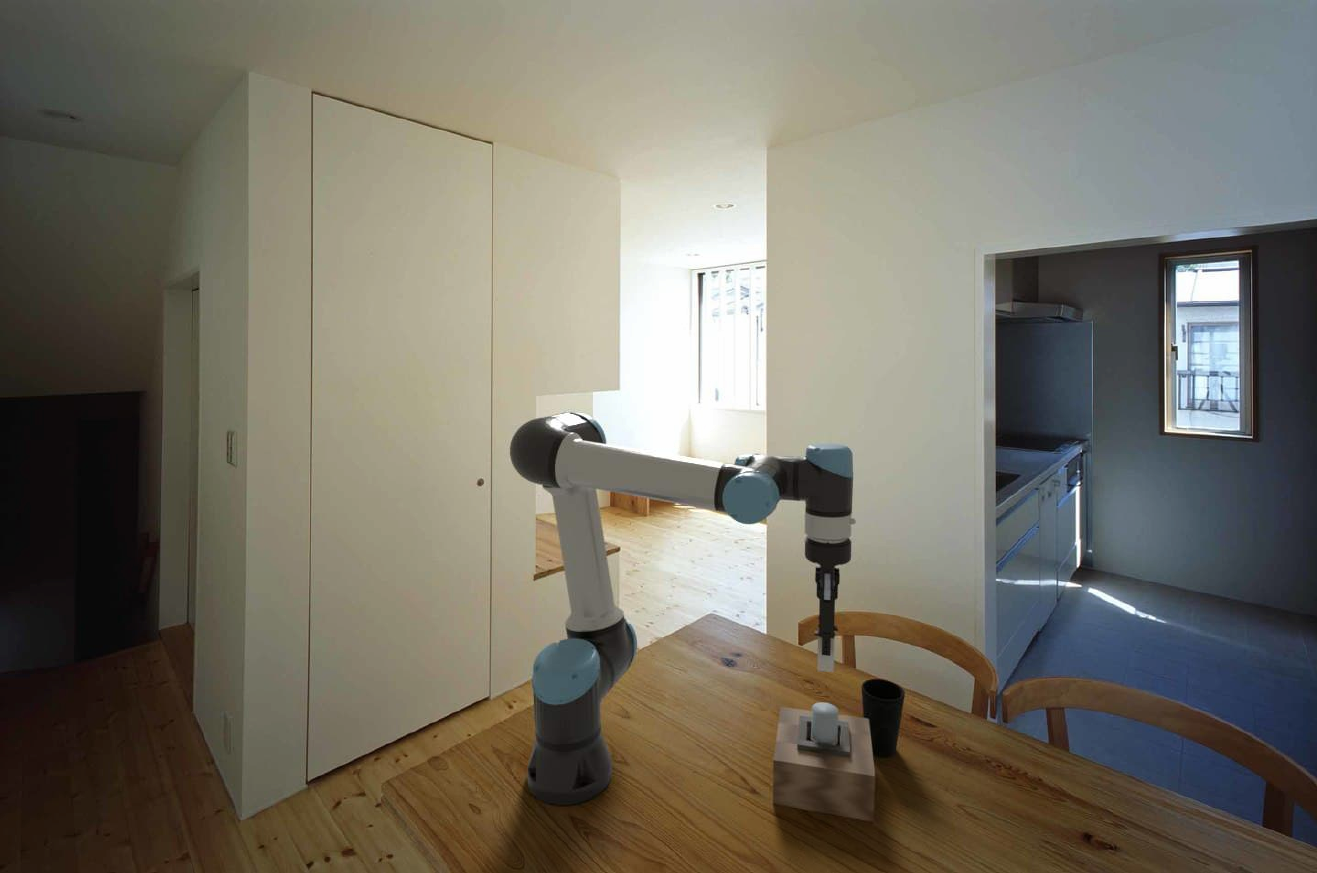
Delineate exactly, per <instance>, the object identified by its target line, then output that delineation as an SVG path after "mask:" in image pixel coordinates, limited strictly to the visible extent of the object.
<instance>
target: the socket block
mask: <svg viewBox="0 0 1317 873" xmlns="http://www.w3.org/2000/svg"><path fill="white" fill-rule="evenodd" d="M779 709H780V710H779V714H778V716H779V717H778V723H777V724H778V725H777V730H776V740H775V745H774V752H773V763H772V764H773V767H772V770H773V771H772V772H773V773H772V774H773V775H772V776H773V777H772V781H773V782H772V805H776V806H777V805H778V806H783V807H789V808H794V809H795V808H796V809H800V810H805V811H810V812H817V813H820V814H821V813H823V814H828V815H834V816H839V817H845V818H851V819H856V820H860V821H861V820H862V821H865V822H866V821H867V822H873V823H874V821H875V820H874V818H875V791H876V790H875V789H876V772H875V763H874V755H873V752H872V743H871V734H870V725H869V719H867V718H863V717H859V716H852V715H844V714H838V733H837V738H838V741H837V745H833V744H826V743H819V742H812V741H811V728H812V710H807V709H798V708H794V707H786V706H785V707H784V706H780V708H779Z"/></svg>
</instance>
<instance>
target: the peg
mask: <svg viewBox="0 0 1317 873" xmlns="http://www.w3.org/2000/svg"><path fill="white" fill-rule="evenodd" d="M811 711H812V728H811V741H812V742H819V743H826V744H833V745H837V741H838V738H837V733H838V715H839V710H838V708H837V706H835V705H834V704H831V703H829V702H823V701H822V702H821V701H820V702H816V703H814V704H813V705H812V706H811Z"/></svg>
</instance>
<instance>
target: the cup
mask: <svg viewBox="0 0 1317 873" xmlns="http://www.w3.org/2000/svg"><path fill="white" fill-rule="evenodd" d="M905 694H906V693H905V690H904V689H903V687H902V686H900V685H899V684H898V683H895V682H893V681H890V680H888V679H882V678H870V679H867V680H865V681H863V682H862V684H861V701H862V716H863V717H862V718H867V719H869V725H870V734H871V743H872V752H873V756H876V757H879V758H891V757H893V756H895V755H896V752H897V746H898V740H899V736H900V735H899V733H900V727H901V723H902V713H903V710H904V709H903V708H904V701H905Z"/></svg>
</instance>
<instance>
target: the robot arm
mask: <svg viewBox="0 0 1317 873" xmlns="http://www.w3.org/2000/svg"><path fill="white" fill-rule="evenodd" d="M606 438H607V437H606V434H605V431H604V430H603V428H602V426H601V425H600V423H599V422H598V421H597V420H596V419H594V418H593V417H592V416H591V415H588V414H586V413H582V412H576V411H575V412H574V411H573V412H566V411H565V412H562V413H556V414H553V415H550V416H544V417H537V418H534V419H531V420H528V421H527V422H525V423H523V424H522V425H521V426H520V427H519V428H517V430H516V431H515V433H514V434H513V436H512V439H511V441H510V446H509V456H510V457H509V458H510V461H511V464H512V466H513V467H514V469H515V471H516V473H518V474H519V475H520V476H521V477H522V478H523V479H525V480H526V481H528V482H530V483H533V484H537V485H540V486H541V485H542V489H543V490H545V491H546V492H548V493H549V494H550V495H551V497H552V501H553V508H554V515H555V521H556V526H557V533H558V540H559V546H560V551H561V556H562V563H563V570H564V575H565V576H564V577H565V582H566V588H567V595H568V602H569V606H570V607H569V608H570V615H569V616H568V617H567V619H566V620H565V622H564V624H565V630H566V637H567V638H565V639H561V640H559V642H552V643H551V644H549V645H547V646H545V647H544V648H543V649H542V650H541V651H540V652H539V653H538V654H537V656H536V658H535V659H534V662H533V667H532V678H531V687H532V693H533V710H534V714H533V715H534V731H535V739H534V744H533V747H532V750H531V753H530V757H529V760H528V764H527V770H526V775H527V776H526V778H527V780H526V781H527V787H528V789H529V791H530V793H531V794H532V795H533V796H534V797H535V798H536V799H537V800H540V801H541V802H544V803H546V804H549V805H555V806H570V805H576V804H580V803H581V804H582V803H584V802H586V801H589V800H591V799H593V798H595V797H596V796H598V795H599V794H601V793H602V792H603V791H604V790H605V789H606V788H607V787H608V785H609V784H610V782H611V779H612V774H613V761H612V756H611V753H610V751H609V748H608V746H607V743H606V740H605V738H604V735H603V733H602V717H601V716H602V714H601V713H602V712H601V703H602V701H603V699H605V697H606V696H607V694H608V693H609V692H610V691H611V690H612V688H613V687H614V686H615V685H616V684H617V682H618V681H619V680H620V679H621V678H622V677H623V675H625V674H626V673H627V671H628V670H629V669H630V667H631V665H632V663H633V661H634V659H635V657H636V654H637V650H638V639H637V638H638V637H637V635H636V631H635V628H634V627H633V625H632V624H631V623H629V622H628V620H627V618H626V617H625V614H624V610H623V609H621V608H620V607H619V606H617V605H616V604H615V601H614V599H615V598H614V594H613V593H614V592H613V586H612V579H611V574H610V566H609V562H608V556H607V549H606V542H605V536H604V530H603V524H602V518H601V510H600V504H599V499H598V493H597V492H598V491H597V490H602V491H606V492H607V491H608V492H610V493H612V492H613V493H617V494H618V493H619V494H623V495H630V496H633V497H639V498H645V499H650V500H656V501H661V502H666V503H671V504H677V505H683V506H687V507H688V506H689V507H693V508H698V509H699V508H700V509H705V510H710V511H713V512H714V511H715V512H720V513H721V512H722V513H726V514H727V515H728V516H729V517H730V518H731V519H733V520H734V521H736V522H737V523H741V524H744V525H755V524H758V523H761V522H762V521H764V520H766V518H768V517H770V516H771V514H773V513H774V512H775V510H776V509H777V506H778V504H779V502H780V501H793V502H794V501H797V502H800V501H801V502H805V508H804V509H805V510H804V534H805V535H806V537H805V538H804V557H805V559H806V560H807V561H809V562H811V563H813V564H816V565H817V564H818V565H819V566H815V575H814V576H815V577H814V581H815V584H816V598H817V599H819V605H818V606H819V608H818V609H819V610H818V611H819V614H818V615H819V616H818V619H817V620H818V625H817V626H818V630H814V634H813V635H814V636H816V637H817V671H819V672H820V671H821V672H827V673H828V672H829V673H834V672H835V637H836V633H835V632H838V631H839V626H838V625H835V611H836V610H835V609H836V607H835V606H836V600H837V599H838V596H839V594H838V593H839V585H840V578H841V574H840V568H839V567H837V566H842V565H845V564H848V563H849V562H850V561H851V560H852V540H851V538H850V537H851V536H852V525H855V524H856V519H855V518H852V517H853V515H852V514H853V489H854V488H853V487H854V463H853V462H854V461H853V458H854V457H853V452H852V449H850V448H849V447H848V446H847V445H844V444H839V443H838V444H836V443H815V444H810V445H809V446H807V447H806V448H805V453H804V455H801V456H800V455H799V456H798V455H797V456H792V455H772V454H771V455H770V454H760V453H754V454H740V455H738V456H737V457H736V458H735V459H734V460H735V461H734V463H733V464H731V463H725V462H720V461H715V460H709V459H708V460H707V459H701V458H696V457H695V458H694V457H689V456H683V455H675V454H672V453H663V452H657V451H653V450H652V451H651V450H645V449H638V448H632V447H625V446H620V445H614V444H608V443H607V439H606Z"/></svg>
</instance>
